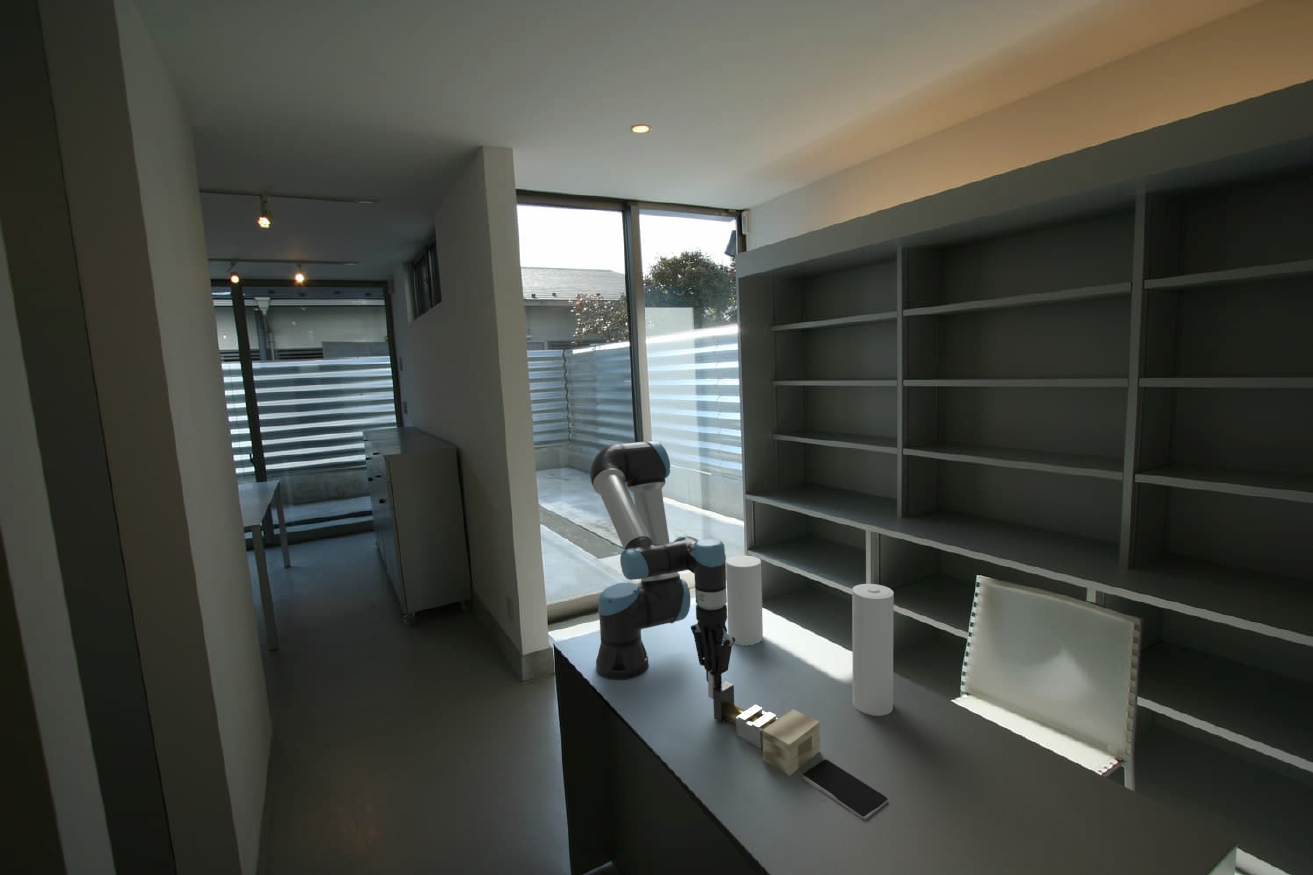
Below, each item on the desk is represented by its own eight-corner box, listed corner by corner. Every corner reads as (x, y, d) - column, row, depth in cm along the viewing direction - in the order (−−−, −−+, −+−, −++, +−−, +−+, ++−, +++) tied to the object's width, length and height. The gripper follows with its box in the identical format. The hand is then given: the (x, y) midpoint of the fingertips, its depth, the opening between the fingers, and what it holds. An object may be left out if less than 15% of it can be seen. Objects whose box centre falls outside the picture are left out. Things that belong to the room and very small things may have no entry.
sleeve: (736, 735, 138) (736, 715, 137) (754, 724, 142) (754, 703, 141) (760, 749, 132) (760, 728, 132) (778, 737, 137) (777, 715, 136)
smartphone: (864, 817, 111) (801, 774, 123) (864, 823, 111) (801, 779, 123) (889, 797, 116) (825, 757, 128) (889, 803, 116) (825, 763, 128)
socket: (763, 759, 129) (762, 729, 128) (793, 737, 136) (793, 708, 135) (789, 775, 124) (789, 744, 123) (819, 751, 131) (819, 721, 130)
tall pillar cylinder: (754, 648, 179) (752, 568, 176) (722, 641, 185) (720, 563, 181) (768, 634, 188) (766, 558, 184) (737, 627, 193) (735, 553, 190)
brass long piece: (714, 718, 144) (713, 688, 143) (727, 710, 147) (726, 680, 146) (773, 752, 131) (773, 719, 130) (787, 742, 134) (786, 710, 133)
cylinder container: (896, 717, 142) (897, 597, 138) (855, 714, 144) (854, 595, 140) (889, 695, 151) (889, 582, 148) (850, 692, 153) (850, 581, 150)
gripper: (681, 601, 146) (685, 691, 149) (720, 616, 136) (723, 712, 139) (702, 592, 151) (706, 680, 154) (742, 606, 141) (744, 699, 144)
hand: (714, 695), depth 146 cm, fingers closed
